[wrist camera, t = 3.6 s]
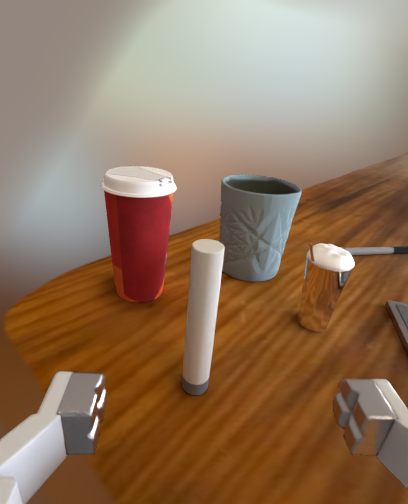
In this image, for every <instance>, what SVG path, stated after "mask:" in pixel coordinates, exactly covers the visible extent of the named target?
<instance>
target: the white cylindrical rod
mask: <svg viewBox="0 0 408 504" xmlns="http://www.w3.org/2000/svg"><path fill="white" fill-rule="evenodd" d="M224 250H225V247H224V245H223V244H222V243H220V242H218V241H215V240H211V239H201V240H197V241H195V242H194V243H193V244H192V253H191V267H190V281H189V295H188V308H187V322H186V336H185V350H184V364H183V378H182V387H183V389H184V390H185V391H186V392H187V393H188V394H191V395H201V394H203V393H204V392H205V391H206V390H207V389H208V384H209V375H210V367H211V359H212V350H213V342H214V334H215V325H216V317H217V309H218V300H219V292H220V284H221V275H222V267H223V259H224Z"/></svg>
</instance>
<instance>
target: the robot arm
mask: <svg viewBox="0 0 408 504" xmlns="http://www.w3.org/2000/svg"><path fill="white" fill-rule="evenodd" d="M105 382H106V378H105V374H104V373H90V372H63V371H58V372H57V373H56V374H55V375H54V377H53V380H52V382H51V384H50V386H49V388H48V391H47V393H46V395H45V397H44V400H43V402H42V404H41V406H40V408H39V411H38V413H37V414H32V415H30V416H29V417H28V418H27V419H25V420H24V421H23V422H22V423H20V424H19V425H18V426H17V427H16V428H14V429H13V430H12V431H10V432H9V433H8V434H6V435H5V436H4V437H3V438H1V439H0V504H26V503H27V502H28V501H29V499H30V498H31V497H32V496H33V495H34V494H35V493H36V491H37V490H38V489H39V488H40V487H41V486H42V485H43V483H44V482H45V481H46V480H47V479H48V477H49V476H50V475H51V474H52V473H53V472H54V471H55V469H56V468H57V467H58V466H59V465H60V464H61V463H62V461H63V460H64V459H65V458H66V457H67V455H73V454H74V455H77V454H95V452H96V448H97V444H98V440H99V436H100V427H99V425H100V424H101V423H102V422H103V420H104V415H105V410H106V401H107V393H106V390H105V389H104V386H105ZM338 387H339V389H340V392H339V393H338V394H336V395H335V397H334V401H333V412H334V416H335V419H336V421H337V424H338V425H339V426H341V427H342V428H343V429H344V430H345V431H344V435H343V437H344V439H345V441H346V444H347V446H348V448H349V450H350V452H351V455H359V456H377V457H376V458H377V459H378V460H379V461H380V462H381V463H382V464H383V465H384V466H385V467H386V468H387V469H388V470H389V471H390V472H391V473H392V474H393V475H394V476H395V477H396V478H397V479H398V480H399V481H400V482H401V483H402V484H403V485H404V486H405V487H406V488H407V489H408V409H407V407H406V406H405V405H404V403H403V402H402V400H401V399H400V397H399V396H398V394H397V393H396V391H395V390H394V389H393V387H392V386H391V384H390V383H389V382H388V381H387V380H386V379H346V378H343V379H342V380H341V381H340V383H339V386H338Z"/></svg>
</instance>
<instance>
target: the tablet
mask: <svg viewBox="0 0 408 504" xmlns="http://www.w3.org/2000/svg"><path fill="white" fill-rule="evenodd" d="M385 306H386V308H387V310H388V313H389V315H390V317H391V319H392V322H393V324H394V326H395V328H396V330H397V333H398V335H399V337H400V339H401V341H402V344H403V346H404V348H405V350H406V353H407V355H408V304H407V303H401V302H396V301H390V300H387V301H386V304H385Z"/></svg>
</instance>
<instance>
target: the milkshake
mask: <svg viewBox="0 0 408 504" xmlns="http://www.w3.org/2000/svg"><path fill="white" fill-rule="evenodd" d="M309 248H310V250H309V251H308V253H307V258H306V266H305V274H304V281H303V288H302V294H301V300H300V306H299V312H298V321H299V323H300V325H301V326H303V327H305V328H306V329H308V330H311V331H316V332H320V331H324V330H326V328H327V326H328V324H329V321H330V319H331V316H332V314H333V312H334V309H335V307H336V304H337V302H338V299H339V297H340V294H341V292H342V290H343V288H344V287H345V284H346V282H347V280H348V278H349V276H350V273H351V271H352V269H353V267H354V265H355V263H354V260H353V258H352V256H351V254H350V253H349V252H348V251H346V250H344V249H343V248H340V247H336V246H334V245H332V244H322V243H320V244H316V245H315V246H313V247H312V244H310V243H309Z"/></svg>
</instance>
